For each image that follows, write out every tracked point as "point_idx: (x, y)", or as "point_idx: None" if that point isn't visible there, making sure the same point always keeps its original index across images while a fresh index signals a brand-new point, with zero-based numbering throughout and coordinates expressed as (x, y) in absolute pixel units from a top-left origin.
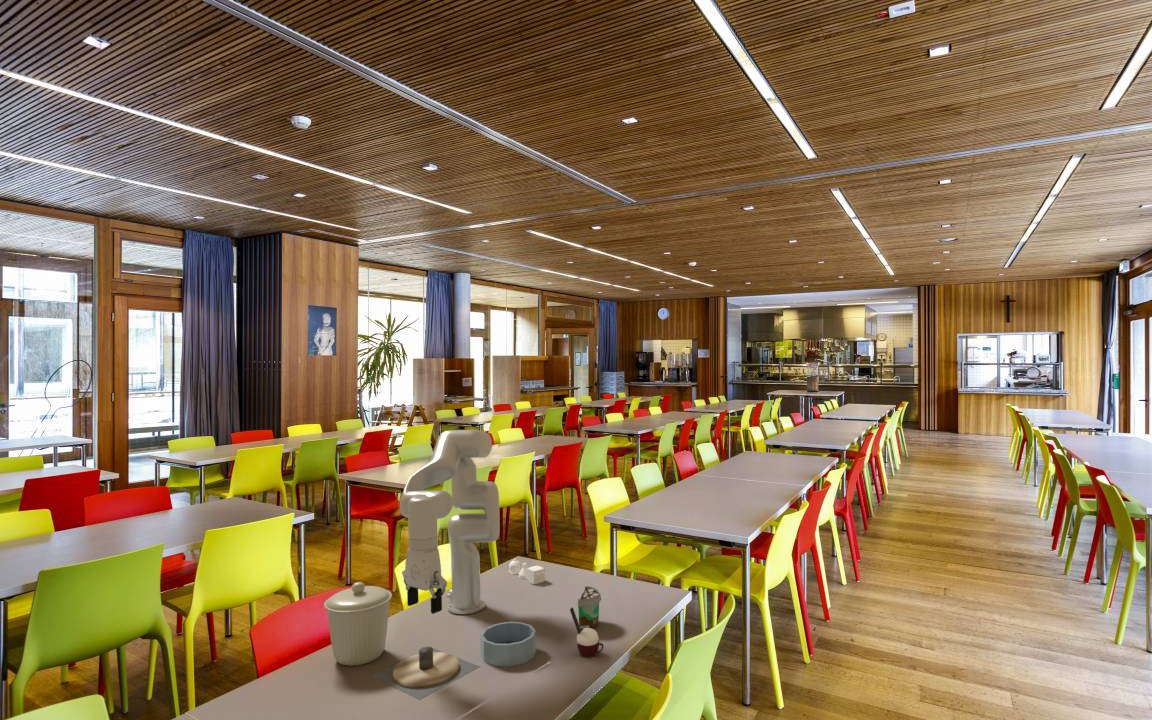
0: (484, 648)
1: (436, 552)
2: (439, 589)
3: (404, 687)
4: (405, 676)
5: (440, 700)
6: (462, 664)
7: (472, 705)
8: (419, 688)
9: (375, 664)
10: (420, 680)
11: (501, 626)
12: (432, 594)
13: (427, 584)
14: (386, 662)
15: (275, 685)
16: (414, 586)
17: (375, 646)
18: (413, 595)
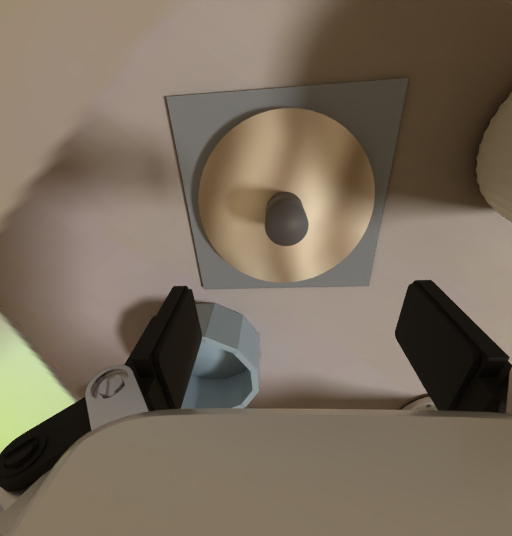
0: (206, 324)
1: None
2: (2, 473)
3: (258, 109)
4: (287, 136)
5: (135, 140)
6: (240, 275)
7: (68, 177)
8: (220, 136)
9: (458, 143)
10: (232, 151)
11: (247, 392)
12: (118, 395)
13: (15, 534)
14: (432, 173)
15: None
16: (358, 427)
17: (501, 151)
18: (433, 352)
